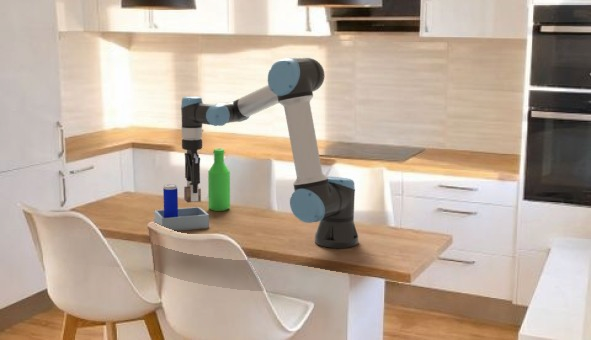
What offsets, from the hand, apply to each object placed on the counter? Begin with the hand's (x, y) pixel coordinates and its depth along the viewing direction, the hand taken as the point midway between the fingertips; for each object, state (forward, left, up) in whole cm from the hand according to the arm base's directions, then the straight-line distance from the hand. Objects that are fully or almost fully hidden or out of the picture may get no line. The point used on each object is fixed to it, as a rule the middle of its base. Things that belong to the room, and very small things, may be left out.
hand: (192, 199), depth 281 cm
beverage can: (0, +8, -9) cm, 12 cm away
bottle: (+21, -17, -10) cm, 28 cm away
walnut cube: (0, 0, 0) cm, 0 cm away
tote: (0, +4, -10) cm, 11 cm away
